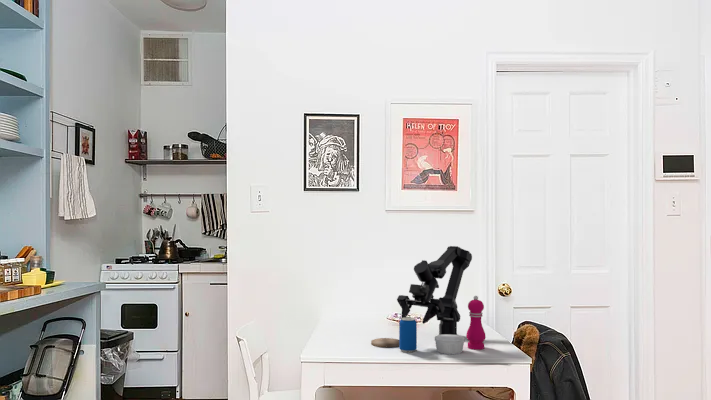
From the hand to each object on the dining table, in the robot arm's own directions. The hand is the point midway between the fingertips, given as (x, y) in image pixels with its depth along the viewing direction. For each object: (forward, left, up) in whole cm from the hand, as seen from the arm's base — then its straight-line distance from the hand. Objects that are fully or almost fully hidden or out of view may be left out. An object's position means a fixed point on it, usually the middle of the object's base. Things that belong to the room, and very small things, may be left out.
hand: (412, 321), depth 214 cm
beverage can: (+3, +2, -11) cm, 11 cm away
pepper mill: (-24, +3, -11) cm, 27 cm away
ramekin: (-12, +6, -11) cm, 18 cm away
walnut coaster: (+8, -10, -10) cm, 16 cm away
